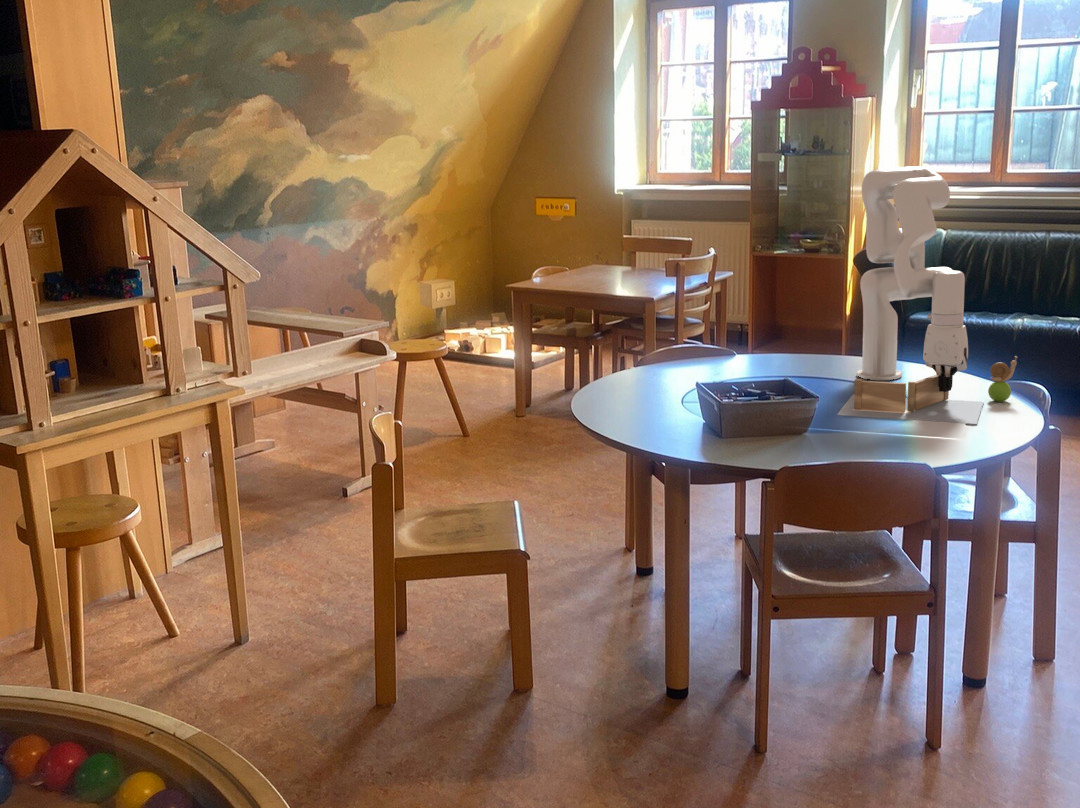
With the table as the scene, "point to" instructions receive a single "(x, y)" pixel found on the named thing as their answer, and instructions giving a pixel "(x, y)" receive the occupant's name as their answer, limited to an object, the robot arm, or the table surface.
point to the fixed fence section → (879, 396)
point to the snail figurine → (1001, 381)
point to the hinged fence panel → (924, 393)
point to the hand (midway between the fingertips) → (945, 390)
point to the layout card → (925, 412)
